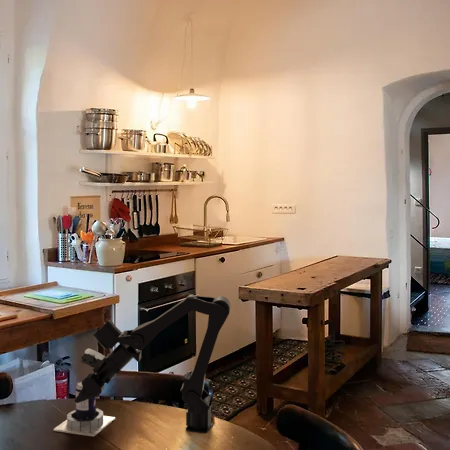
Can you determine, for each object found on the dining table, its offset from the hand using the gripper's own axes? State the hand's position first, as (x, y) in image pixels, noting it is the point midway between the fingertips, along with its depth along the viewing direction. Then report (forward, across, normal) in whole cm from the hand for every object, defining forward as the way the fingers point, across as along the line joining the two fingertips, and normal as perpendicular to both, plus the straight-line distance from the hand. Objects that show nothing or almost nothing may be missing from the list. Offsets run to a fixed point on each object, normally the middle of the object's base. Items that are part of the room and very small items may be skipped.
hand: (80, 396), depth 173 cm
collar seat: (+5, 0, +7) cm, 9 cm away
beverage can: (+5, 0, +7) cm, 8 cm away
